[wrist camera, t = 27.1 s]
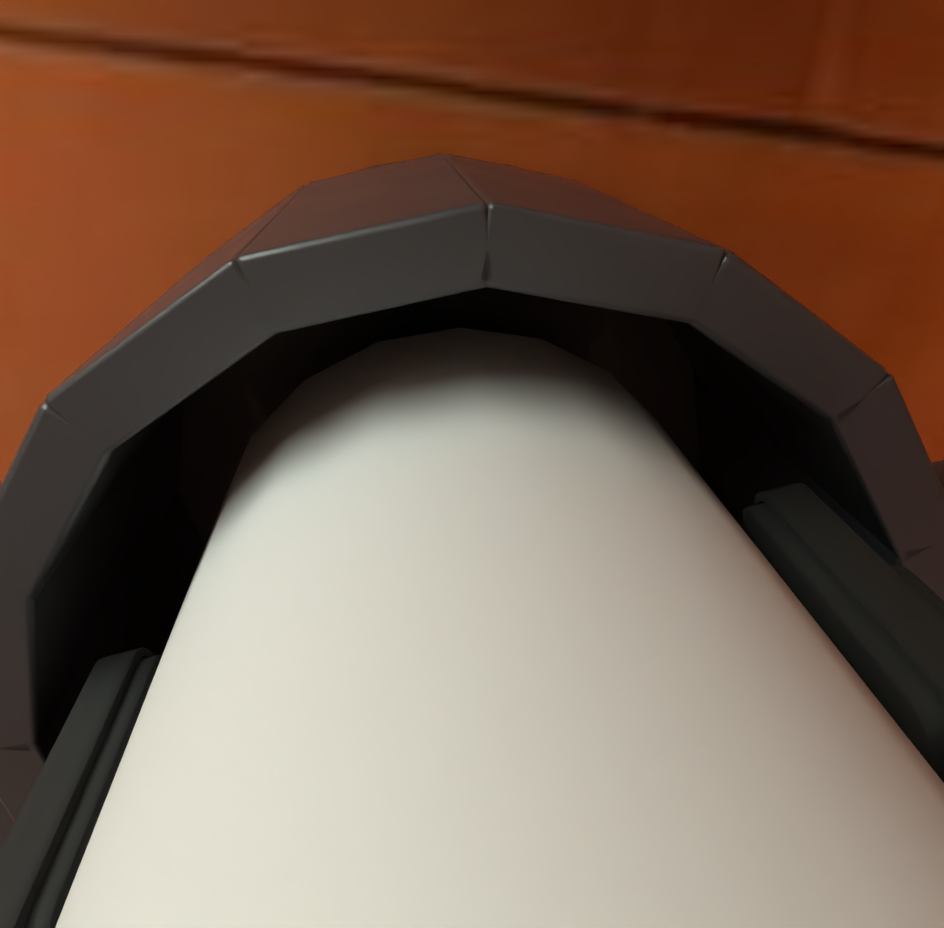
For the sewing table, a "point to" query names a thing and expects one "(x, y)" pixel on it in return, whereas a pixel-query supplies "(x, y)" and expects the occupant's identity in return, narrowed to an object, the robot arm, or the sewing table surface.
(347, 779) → the can
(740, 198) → the sewing table surface
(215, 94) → the sewing table surface
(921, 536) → the pot
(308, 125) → the sewing table surface
